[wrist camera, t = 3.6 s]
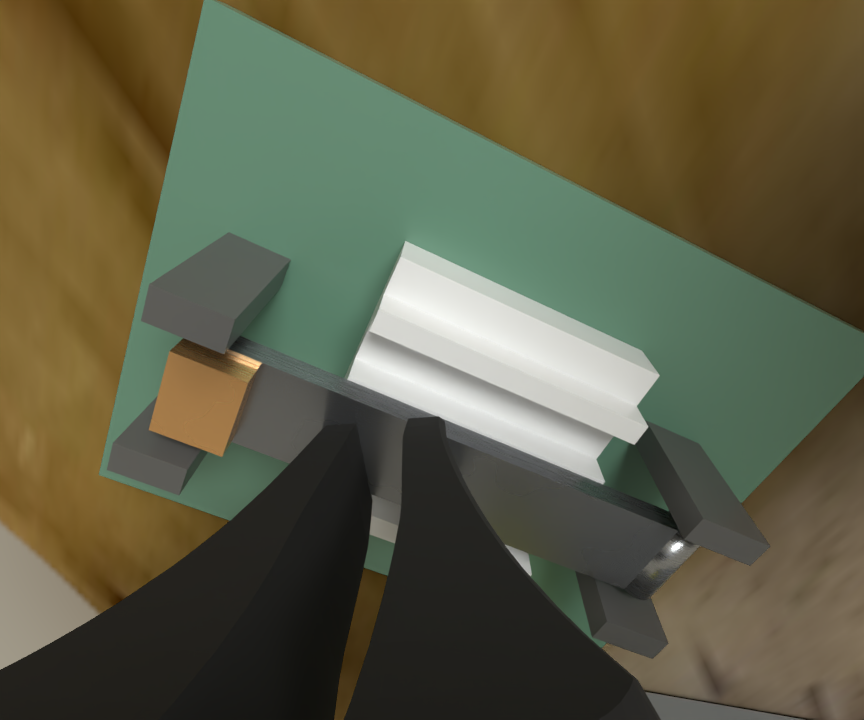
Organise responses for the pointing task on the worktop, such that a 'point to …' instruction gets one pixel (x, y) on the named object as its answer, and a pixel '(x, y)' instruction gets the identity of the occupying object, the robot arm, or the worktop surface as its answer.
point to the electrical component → (704, 710)
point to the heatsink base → (460, 308)
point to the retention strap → (382, 452)
